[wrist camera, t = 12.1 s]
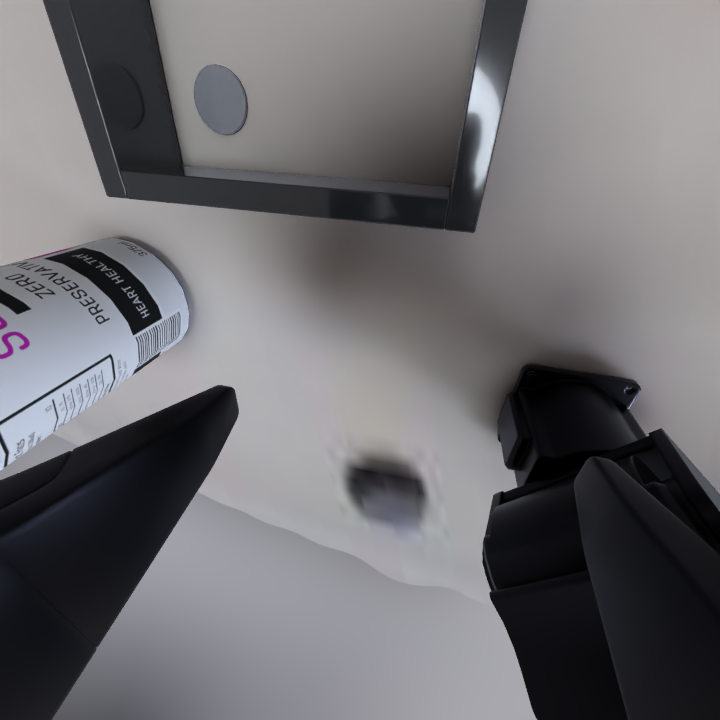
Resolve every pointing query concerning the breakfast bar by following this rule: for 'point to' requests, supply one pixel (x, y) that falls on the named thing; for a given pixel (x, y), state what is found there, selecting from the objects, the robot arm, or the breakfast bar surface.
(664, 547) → the robot arm
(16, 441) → the supplement can
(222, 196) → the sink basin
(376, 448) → the breakfast bar surface
